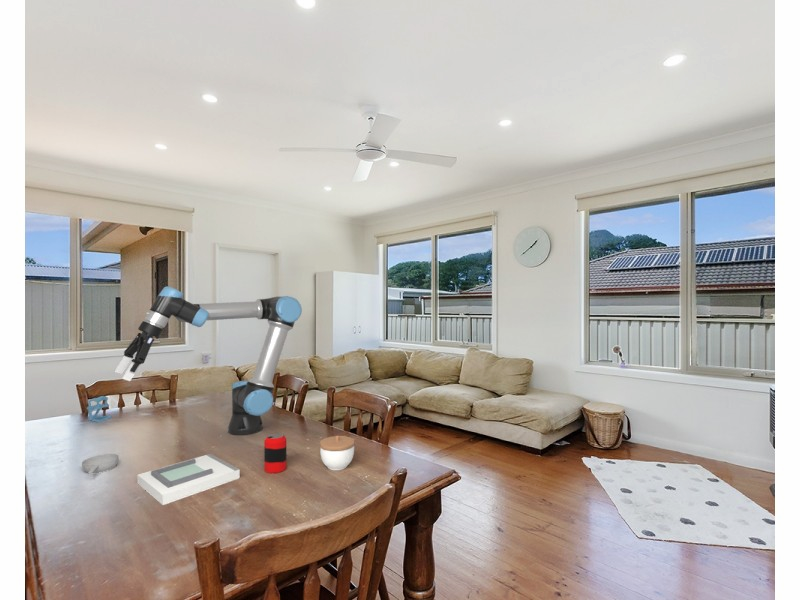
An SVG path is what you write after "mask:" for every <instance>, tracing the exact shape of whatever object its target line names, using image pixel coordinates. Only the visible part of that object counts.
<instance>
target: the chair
mask: <svg viewBox="0 0 800 600" xmlns="http://www.w3.org/2000/svg"><path fill="white" fill-rule="evenodd" d="M108 400H109V397H107V396H105V395H101V396H98V397H93V398H92V399H88V400H87V402H88V406H87V407H86V409H87V410H88V421H90V420H92V422H96V423H100V422H104V421H106V420H110V419H111V418H112V415H106V416H103V415H101V416H98V414H99V412H100V411H101V409H102V408H107V407H109V406H110V404H109V403H108ZM102 401H104V403H103V404H102V403H100V402H102ZM91 402H96V404H94V405H92V403H91ZM94 410H96V411H95V413H94V415H93V411H94Z"/></svg>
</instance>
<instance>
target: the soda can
mask: <svg viewBox="0 0 800 600" xmlns="http://www.w3.org/2000/svg"><path fill="white" fill-rule="evenodd" d="M263 442H264V444H263V445H264V448H263V451H264V453H263V455H264V457H263V459H264V472H266V473H267V474H272V473H273V474H279V472H280V473H282V472H284V471H285V470H286V469H287V462H288V461H287V438H286V436H285V435H284V433H280V432H279V433H272V434H271V433H270V434H268V435H267V436H266V438H264V441H263Z"/></svg>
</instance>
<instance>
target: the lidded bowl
mask: <svg viewBox="0 0 800 600" xmlns="http://www.w3.org/2000/svg"><path fill="white" fill-rule="evenodd" d="M319 453H320V458H321V461H322V463H323V464H324V465H325V466H326V467H327V469H328V470H331V471H342V470H346V468H347V467H348V465H350V464H351V462H352V460H353V459H354V454H355V439H354V438H353V437H350V436H346V435H333V436H332V435H331V436H328V437H325V438H323V439H321V440H320V442H319Z"/></svg>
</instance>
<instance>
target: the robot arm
mask: <svg viewBox="0 0 800 600" xmlns="http://www.w3.org/2000/svg"><path fill="white" fill-rule="evenodd" d="M183 296H184V293H183V292H182V291H179V290H178V289H177V288H173V287H171V286H165V287H163V288H162V289H161V291H160V292H159V294H158V295H157V297H156V299H155V300H154V302H153V304H152V305H151V307H150V309H149V311H146V313H145V314H146V315H145V317H144V321H142V322H141V323H140V324H139V325H138V326H139V327H138V331H140V332H138V333H137V335H136V336H135V338H134V339H133V340H132V341H131V342H130V344H129V345H128V347H126V349H125V350H124V351H123V356H122V357H121V359H120V361H119V362H118V364H117V366H116V368H115V369H114V373H117V374H120V375H122V377H121V379H122V380H123V381H124V380H125V381H128V382H131V381H132V379H133V377H134V376H135V374H136V372H137V371H138V369H139V368H140V366H141V365H142V364H144V363H145V362H146V359H147V356H148V354H149V352H150V350H151V347H152V345H153V343H154V341H155V339H154V338H153V337H155V338H159V337H160V335H161V333H162V332H163V328H165V327H166V325H167V324H168V322H169V320H170V318H171V317H172V316H173V317H174V318H175V319H176V320H177V321H179V322H181V323H188V324H190V325H192V326H195V327H197V328H201V327H203V325H204V324H205V323H206V321H219V320H235V319H238V320H239V319H257V320H267V323H268V324H269V327H268V330H267V331H266V335H265V339H264V341H263V344H262V348H261V352H260V354H259V358H258V360H257V363H256V366H255V370H254V373H253V376H252V377H251V378H250V379H248V380H247V379H245V380H239V381H235V382H233V383H232V387H231V393H232V394H231V404H232V406H231V409H232V411H231V412H232V414H231V417H230V421H229V423H228V428H227V429H228V434H230V435H235V436H245V435H251V434H256V433H258V432H261V431H262V430H263V429H264V423H263V420H262V417H261V416H262V415H265V414H267V413H268V412H269V411H270V410H271V408H272V406H273V404H274V397H273V391H274V388H275V386H274V384H273V380H274V377H275V374H276V371H277V367H278V364H279V360H280V357H281V355H282V351H283V349H284V345H285V342H286V340H287V336H288V333H289V331H290V330H292V329H293V328H294V325H295V322H296V321H297V320H298V319H300V318H301V315H302V311H303V309H302V306H301V305H302V304H301V303H300V301H299V300H298V299H297V298H296V297H293V296H290V295H284V296H274V297H268V298H267V297H266V298H262V299H261V298H259V299H256V300H255V301H238V302H237V301H236V302H234V301H233V302H213V303H210V302H209V303H191V302H189V301H187V300H185V299H184V298H183ZM130 361H131V363H130ZM129 363H130V364H129ZM128 365H129V366H128ZM126 368H127V369H126ZM125 370H126V371H125ZM124 371H125V372H124Z"/></svg>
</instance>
